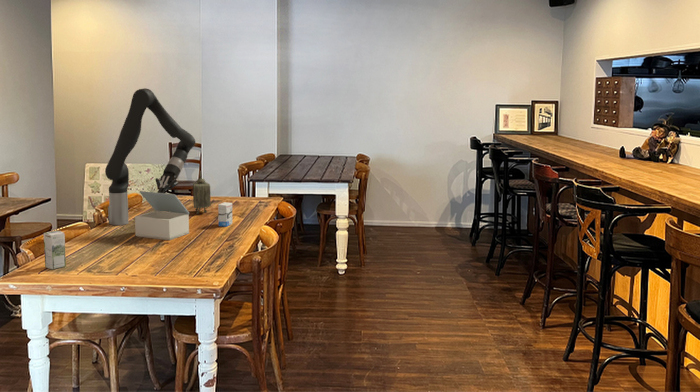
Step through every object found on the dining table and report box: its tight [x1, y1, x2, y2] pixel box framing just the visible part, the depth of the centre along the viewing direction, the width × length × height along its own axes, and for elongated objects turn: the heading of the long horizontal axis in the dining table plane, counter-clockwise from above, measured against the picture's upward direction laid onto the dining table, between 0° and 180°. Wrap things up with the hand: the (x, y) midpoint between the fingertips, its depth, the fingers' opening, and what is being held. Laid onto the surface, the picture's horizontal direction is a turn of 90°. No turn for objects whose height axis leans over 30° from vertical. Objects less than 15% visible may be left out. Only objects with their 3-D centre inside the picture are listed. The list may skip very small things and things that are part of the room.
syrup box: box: [43, 230, 67, 270], centre depth 247 cm, size 6×6×14 cm
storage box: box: [134, 210, 190, 241], centre depth 305 cm, size 20×16×10 cm
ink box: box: [217, 201, 233, 228], centre depth 331 cm, size 8×5×12 cm, turn 168°
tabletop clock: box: [192, 170, 212, 215], centre depth 361 cm, size 14×9×25 cm, turn 17°
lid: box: [139, 190, 190, 215], centre depth 306 cm, size 21×16×1 cm
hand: (159, 195), depth 301 cm, fingers closed
